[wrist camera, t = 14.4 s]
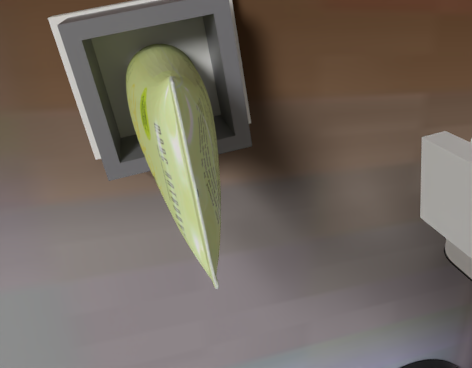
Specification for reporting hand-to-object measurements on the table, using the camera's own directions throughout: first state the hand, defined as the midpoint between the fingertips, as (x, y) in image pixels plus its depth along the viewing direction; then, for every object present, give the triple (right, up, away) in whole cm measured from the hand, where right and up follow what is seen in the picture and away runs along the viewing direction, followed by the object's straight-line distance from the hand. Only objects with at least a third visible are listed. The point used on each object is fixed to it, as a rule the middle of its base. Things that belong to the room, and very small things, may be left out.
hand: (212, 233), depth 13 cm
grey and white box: (-5, +10, +20) cm, 23 cm away
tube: (-5, +9, +19) cm, 22 cm away
